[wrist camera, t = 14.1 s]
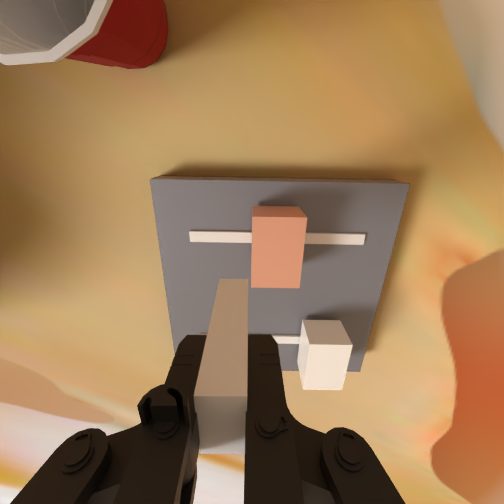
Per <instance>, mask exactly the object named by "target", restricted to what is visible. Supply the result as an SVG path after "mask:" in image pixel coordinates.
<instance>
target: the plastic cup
mask: <svg viewBox="0 0 504 504" xmlns="http://www.w3.org/2000/svg"><path fill="white" fill-rule="evenodd" d="M167 34H168V22H167V15H166V8H165V4H164V1H163V0H0V63H2V64H4V65H20V64H33V63H46V62H59V61H62V60H63V59H64V58H68V59H73V60H78V61H84V62H89V63H95V64H100V65H105V66H118V67H122V68H127V69H134V68H144V67H147V66H149V65H150V64H152V63H153V62H155V61H157V60H158V58H159V56H160V55H161V53H162V52H163V50H164V48H165V45H166V40H167Z"/></svg>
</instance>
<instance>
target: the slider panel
mask: <svg viewBox="0 0 504 504" xmlns="http://www.w3.org/2000/svg"><path fill="white" fill-rule="evenodd" d="M150 184H151V191H152V198H153V205H154V212H155V219H156V226H157V233H158V240H159V247H160V254H161V261H162V268H163V275H164V282H165V289H166V296H167V303H168V310H169V317H170V324H171V331H172V338H173V345H174V352H175V353H176V350H177V348H178V345H179V343H180V342H181V341H182V340H183V339H184V338H185V336H186V335H207V333H208V329H209V324H210V320H211V315H212V311H213V306H214V302H215V297H216V293H217V288H218V284H219V279H248V334H271V335H272V336H273V338H274V339H275V341H276V342H277V343H278V350H279V357H280V365H281V371H299V368H298V363H297V360H298V351H299V343H300V335H301V327H302V320H340V321H341V323H342V325H343V327H344V329H345V331H346V333H347V335H348V337H349V339H350V341H351V343H352V345H353V346H352V350H351V354H350V359H349V363H348V367H347V371H350V372H360V370H361V366H362V362H363V358H364V355H365V351H366V347H367V343H368V340H369V336H370V332H371V328H372V325H373V321H374V317H375V313H376V310H377V306H378V302H379V298H380V295H381V291H382V287H383V283H384V280H385V276H386V272H387V268H388V265H389V261H390V257H391V253H392V250H393V246H394V242H395V238H396V235H397V231H398V227H399V223H400V220H401V216H402V212H403V208H404V205H405V201H406V197H407V193H408V190H409V186H410V184H409V183H405V182H400V181H396V180H366V179H312V178H258V177H204V176H158V177H154V178H151V179H150ZM252 206H293V207H300V209H301V210H302V211H303V213H304V214H305V215H306V216H307V225H306V234H305V243H304V252H303V261H302V271H301V280H300V288H251V254H252Z"/></svg>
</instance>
